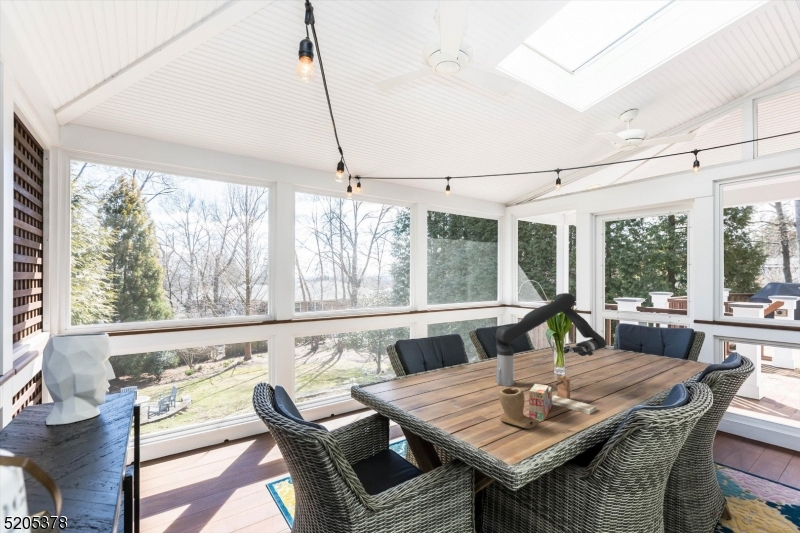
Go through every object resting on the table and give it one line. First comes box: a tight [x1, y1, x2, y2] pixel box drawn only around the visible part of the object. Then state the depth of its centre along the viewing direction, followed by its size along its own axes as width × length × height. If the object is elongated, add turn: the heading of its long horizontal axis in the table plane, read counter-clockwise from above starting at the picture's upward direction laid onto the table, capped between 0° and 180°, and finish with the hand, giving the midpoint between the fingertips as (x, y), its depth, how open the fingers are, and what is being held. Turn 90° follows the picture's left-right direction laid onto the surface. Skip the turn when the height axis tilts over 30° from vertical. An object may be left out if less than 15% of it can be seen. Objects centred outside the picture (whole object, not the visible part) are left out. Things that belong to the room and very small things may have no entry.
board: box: [552, 394, 597, 415], centre depth 176 cm, size 20×8×2 cm, turn 42°
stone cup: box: [498, 386, 540, 429], centre depth 154 cm, size 15×12×15 cm
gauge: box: [555, 375, 571, 400], centre depth 184 cm, size 11×4×12 cm, turn 132°
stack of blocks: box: [528, 383, 553, 421], centre depth 169 cm, size 21×6×12 cm, turn 148°
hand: (573, 352), depth 194 cm, fingers open, 8 cm apart
